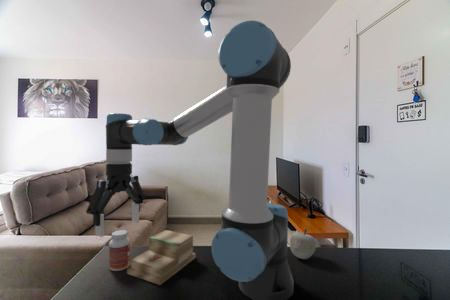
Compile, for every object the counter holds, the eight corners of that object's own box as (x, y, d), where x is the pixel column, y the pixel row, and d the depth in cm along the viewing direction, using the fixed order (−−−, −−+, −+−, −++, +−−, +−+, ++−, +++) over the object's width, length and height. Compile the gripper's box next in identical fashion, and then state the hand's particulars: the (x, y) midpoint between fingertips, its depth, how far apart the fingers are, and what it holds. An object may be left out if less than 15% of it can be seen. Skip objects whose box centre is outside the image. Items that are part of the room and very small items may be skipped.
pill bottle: (132, 268, 75) (132, 233, 75) (110, 274, 72) (110, 237, 71) (128, 260, 80) (127, 227, 80) (108, 265, 77) (107, 231, 76)
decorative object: (287, 260, 81) (287, 231, 80) (292, 249, 89) (292, 223, 88) (314, 266, 77) (315, 235, 77) (317, 255, 85) (317, 227, 84)
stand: (195, 257, 82) (195, 234, 82) (160, 285, 66) (160, 256, 66) (166, 250, 88) (166, 228, 88) (127, 273, 72) (126, 247, 71)
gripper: (140, 159, 88) (139, 216, 89) (72, 164, 66) (72, 240, 66) (155, 160, 85) (155, 219, 85) (89, 166, 62) (89, 245, 63)
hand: (118, 228), depth 76 cm, fingers open, 13 cm apart
